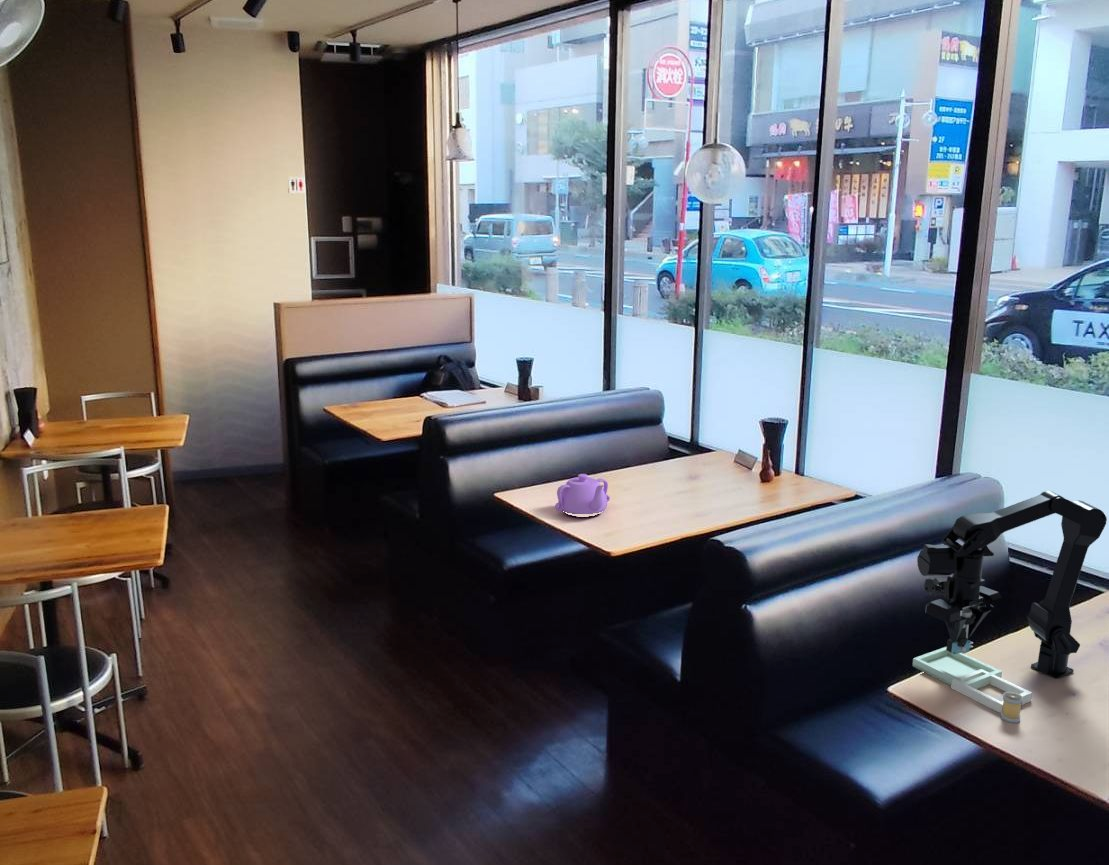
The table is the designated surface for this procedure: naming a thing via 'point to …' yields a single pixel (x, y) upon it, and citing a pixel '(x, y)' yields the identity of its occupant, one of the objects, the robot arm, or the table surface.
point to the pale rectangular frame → (984, 697)
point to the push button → (962, 635)
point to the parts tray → (954, 667)
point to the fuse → (1011, 707)
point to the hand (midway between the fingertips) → (960, 638)
